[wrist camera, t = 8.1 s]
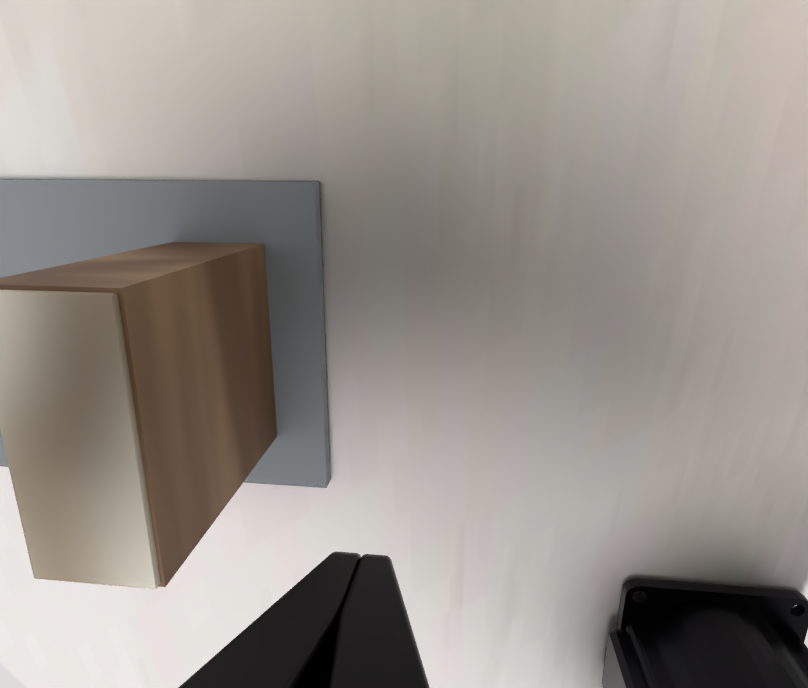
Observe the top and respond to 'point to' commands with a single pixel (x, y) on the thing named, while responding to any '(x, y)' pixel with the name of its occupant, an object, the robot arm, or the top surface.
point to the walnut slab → (133, 404)
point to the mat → (205, 223)
